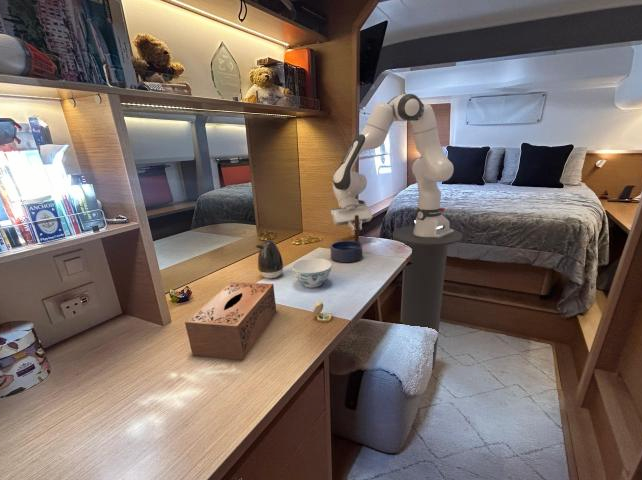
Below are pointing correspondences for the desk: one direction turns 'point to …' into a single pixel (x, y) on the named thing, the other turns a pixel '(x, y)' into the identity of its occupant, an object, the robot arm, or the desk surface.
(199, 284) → the desk surface
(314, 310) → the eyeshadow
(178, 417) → the desk surface
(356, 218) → the stirring stick
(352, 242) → the bowl
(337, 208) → the robot arm
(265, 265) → the pump dispenser
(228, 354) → the tissue box cover
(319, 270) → the chinaware
